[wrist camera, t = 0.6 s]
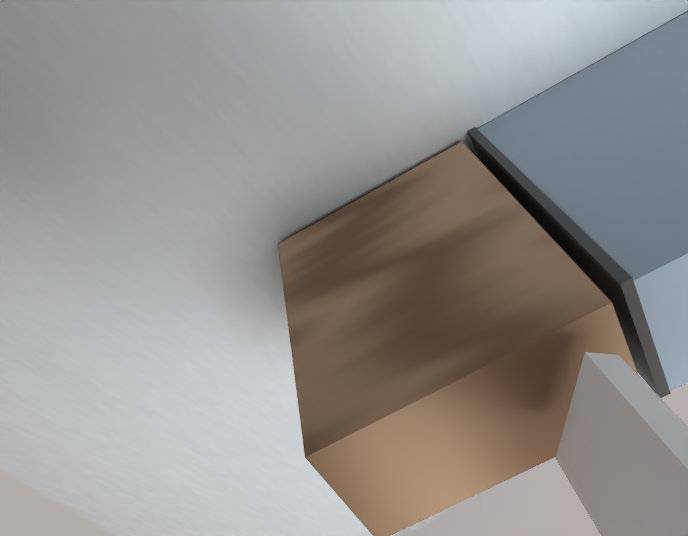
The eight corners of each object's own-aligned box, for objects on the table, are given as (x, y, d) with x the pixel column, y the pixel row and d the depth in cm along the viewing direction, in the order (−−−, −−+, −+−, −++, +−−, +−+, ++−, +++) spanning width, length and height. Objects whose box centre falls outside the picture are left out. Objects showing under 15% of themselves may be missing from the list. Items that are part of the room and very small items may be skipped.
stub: (327, 314, 27) (378, 541, 17) (277, 244, 25) (305, 457, 15) (498, 222, 26) (651, 410, 16) (461, 141, 24) (611, 302, 14)
